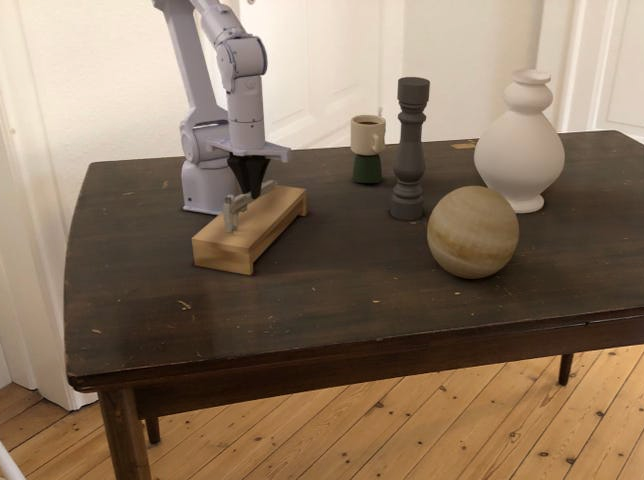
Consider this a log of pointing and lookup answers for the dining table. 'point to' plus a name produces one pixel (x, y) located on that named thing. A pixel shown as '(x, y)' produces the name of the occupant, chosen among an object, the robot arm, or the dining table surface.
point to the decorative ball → (473, 232)
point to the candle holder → (410, 149)
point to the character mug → (367, 147)
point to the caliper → (241, 205)
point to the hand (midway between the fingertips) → (251, 196)
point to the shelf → (248, 231)
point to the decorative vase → (522, 144)
